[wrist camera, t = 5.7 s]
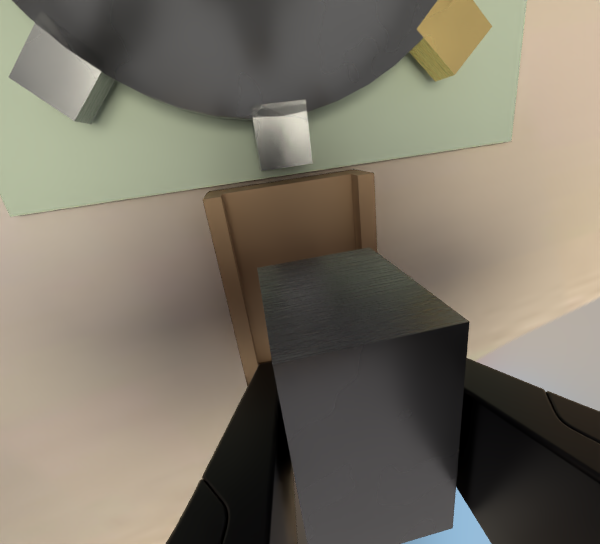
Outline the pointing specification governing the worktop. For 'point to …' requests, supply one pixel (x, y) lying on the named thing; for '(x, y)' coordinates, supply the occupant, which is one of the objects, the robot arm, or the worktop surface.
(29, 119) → the mount plate
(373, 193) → the brown rectangular tray
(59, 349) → the worktop surface
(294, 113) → the sprocket
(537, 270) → the worktop surface
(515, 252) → the worktop surface
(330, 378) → the link block
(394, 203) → the worktop surface
